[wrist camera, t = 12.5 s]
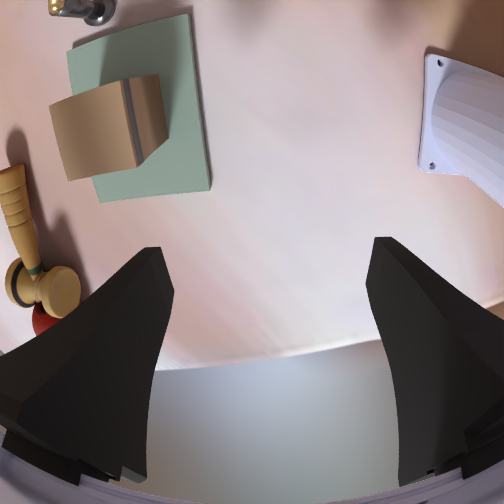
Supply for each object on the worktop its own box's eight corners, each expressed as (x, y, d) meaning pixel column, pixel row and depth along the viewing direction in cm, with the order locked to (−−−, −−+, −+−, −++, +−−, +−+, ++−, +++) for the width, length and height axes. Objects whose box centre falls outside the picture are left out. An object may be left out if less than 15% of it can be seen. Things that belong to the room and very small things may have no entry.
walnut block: (158, 73, 13) (120, 80, 9) (169, 138, 16) (137, 168, 12) (98, 90, 14) (48, 105, 10) (110, 149, 16) (68, 181, 12)
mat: (189, 15, 12) (187, 13, 11) (211, 186, 18) (209, 190, 18) (71, 51, 12) (66, 51, 12) (103, 199, 19) (99, 203, 18)
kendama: (-1, 168, 18) (50, 324, 27) (-42, 189, 13) (31, 364, 21) (62, 150, 19) (107, 324, 28) (22, 167, 14) (93, 368, 22)
